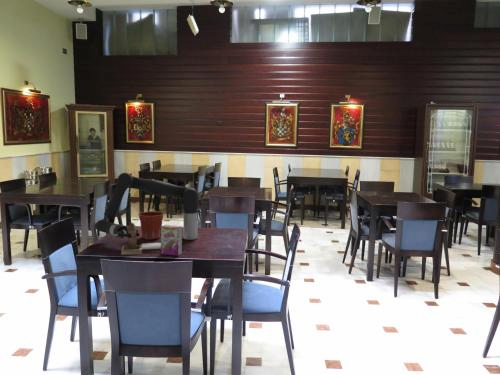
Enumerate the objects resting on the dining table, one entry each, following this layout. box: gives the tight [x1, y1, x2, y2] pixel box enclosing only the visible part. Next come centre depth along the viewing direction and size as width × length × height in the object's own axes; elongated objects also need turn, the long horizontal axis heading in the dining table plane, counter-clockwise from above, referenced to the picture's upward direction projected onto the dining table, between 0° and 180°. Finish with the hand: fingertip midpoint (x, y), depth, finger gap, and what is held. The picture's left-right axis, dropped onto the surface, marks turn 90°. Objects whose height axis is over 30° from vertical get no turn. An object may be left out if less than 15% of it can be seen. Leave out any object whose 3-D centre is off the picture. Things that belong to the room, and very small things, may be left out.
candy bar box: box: [160, 224, 183, 257], centre depth 239 cm, size 11×5×16 cm, turn 74°
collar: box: [120, 244, 143, 256], centre depth 244 cm, size 11×11×2 cm
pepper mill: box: [127, 222, 138, 249], centre depth 243 cm, size 5×5×15 cm
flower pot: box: [137, 211, 165, 241], centre depth 277 cm, size 16×16×16 cm
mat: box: [140, 242, 161, 250], centre depth 256 cm, size 12×12×1 cm
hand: (134, 235), depth 241 cm, fingers closed on pepper mill, 4 cm apart
